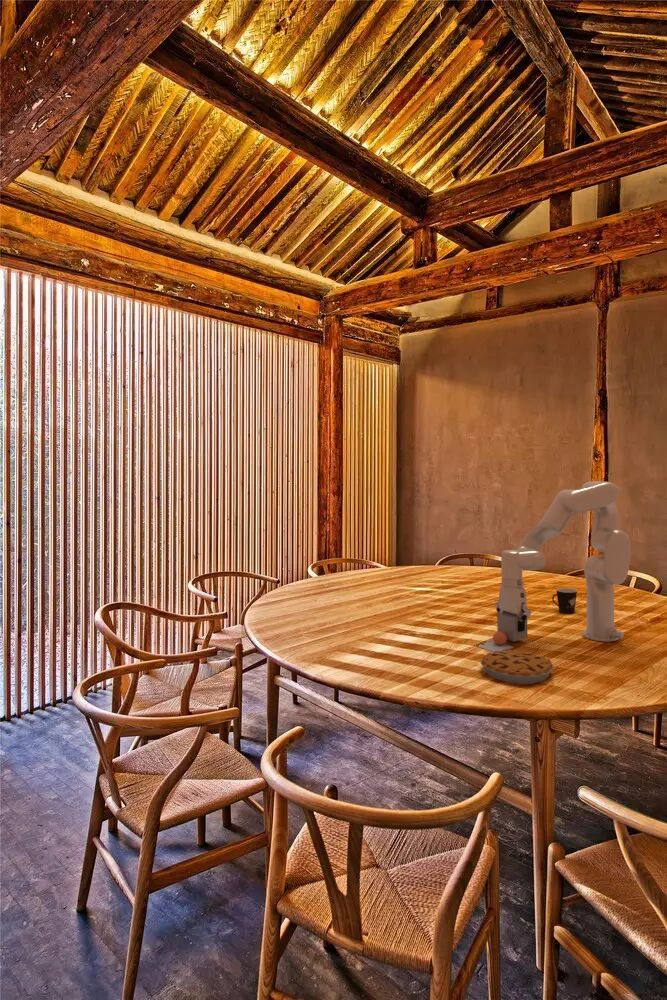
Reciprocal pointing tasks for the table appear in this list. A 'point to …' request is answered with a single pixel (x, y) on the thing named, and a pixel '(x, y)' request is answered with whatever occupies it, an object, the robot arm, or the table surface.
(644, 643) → the table surface
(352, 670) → the table surface
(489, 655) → the pie
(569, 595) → the coffee mug
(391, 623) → the table surface
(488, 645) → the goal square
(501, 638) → the ball
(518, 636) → the grey block
